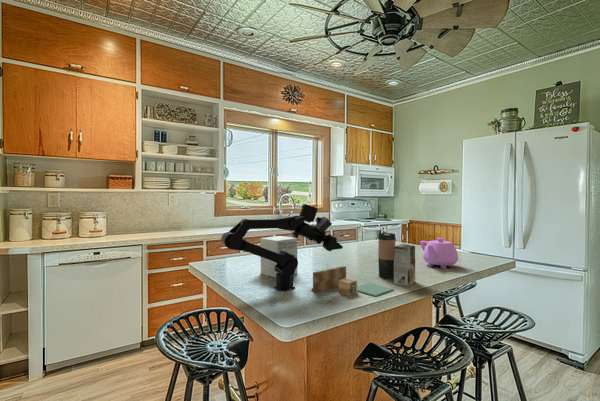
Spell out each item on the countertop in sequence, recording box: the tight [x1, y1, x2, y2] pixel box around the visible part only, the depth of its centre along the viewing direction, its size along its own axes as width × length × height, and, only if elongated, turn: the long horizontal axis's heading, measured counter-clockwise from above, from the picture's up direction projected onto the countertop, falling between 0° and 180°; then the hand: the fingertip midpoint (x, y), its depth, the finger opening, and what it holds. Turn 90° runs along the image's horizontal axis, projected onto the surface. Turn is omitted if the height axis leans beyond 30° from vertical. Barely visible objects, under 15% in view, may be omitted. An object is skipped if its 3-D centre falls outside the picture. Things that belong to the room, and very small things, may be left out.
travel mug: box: [377, 232, 396, 280], centre depth 148 cm, size 8×8×20 cm
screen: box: [311, 265, 347, 293], centre depth 131 cm, size 18×4×8 cm, turn 131°
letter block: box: [338, 277, 358, 296], centre depth 124 cm, size 5×5×5 cm
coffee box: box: [393, 243, 416, 287], centre depth 137 cm, size 9×6×16 cm
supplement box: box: [259, 235, 298, 279], centre depth 154 cm, size 13×13×18 cm
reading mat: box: [357, 282, 394, 298], centre depth 127 cm, size 12×12×1 cm
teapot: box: [419, 237, 459, 270], centre depth 170 cm, size 20×20×15 cm
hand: (337, 244), depth 141 cm, fingers open, 9 cm apart
